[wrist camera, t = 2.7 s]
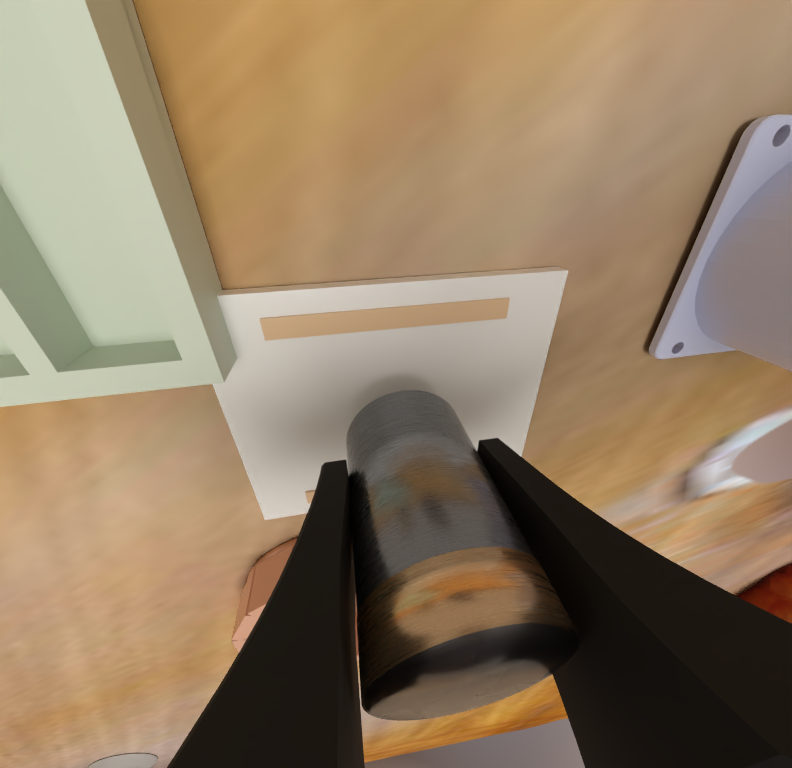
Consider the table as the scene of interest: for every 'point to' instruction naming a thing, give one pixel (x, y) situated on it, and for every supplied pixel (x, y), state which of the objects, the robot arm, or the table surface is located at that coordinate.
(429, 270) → the table surface
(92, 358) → the trough
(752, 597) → the ceramic vessel
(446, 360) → the pad
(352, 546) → the robot arm
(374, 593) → the cylinder
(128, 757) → the chalice
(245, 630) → the cup
